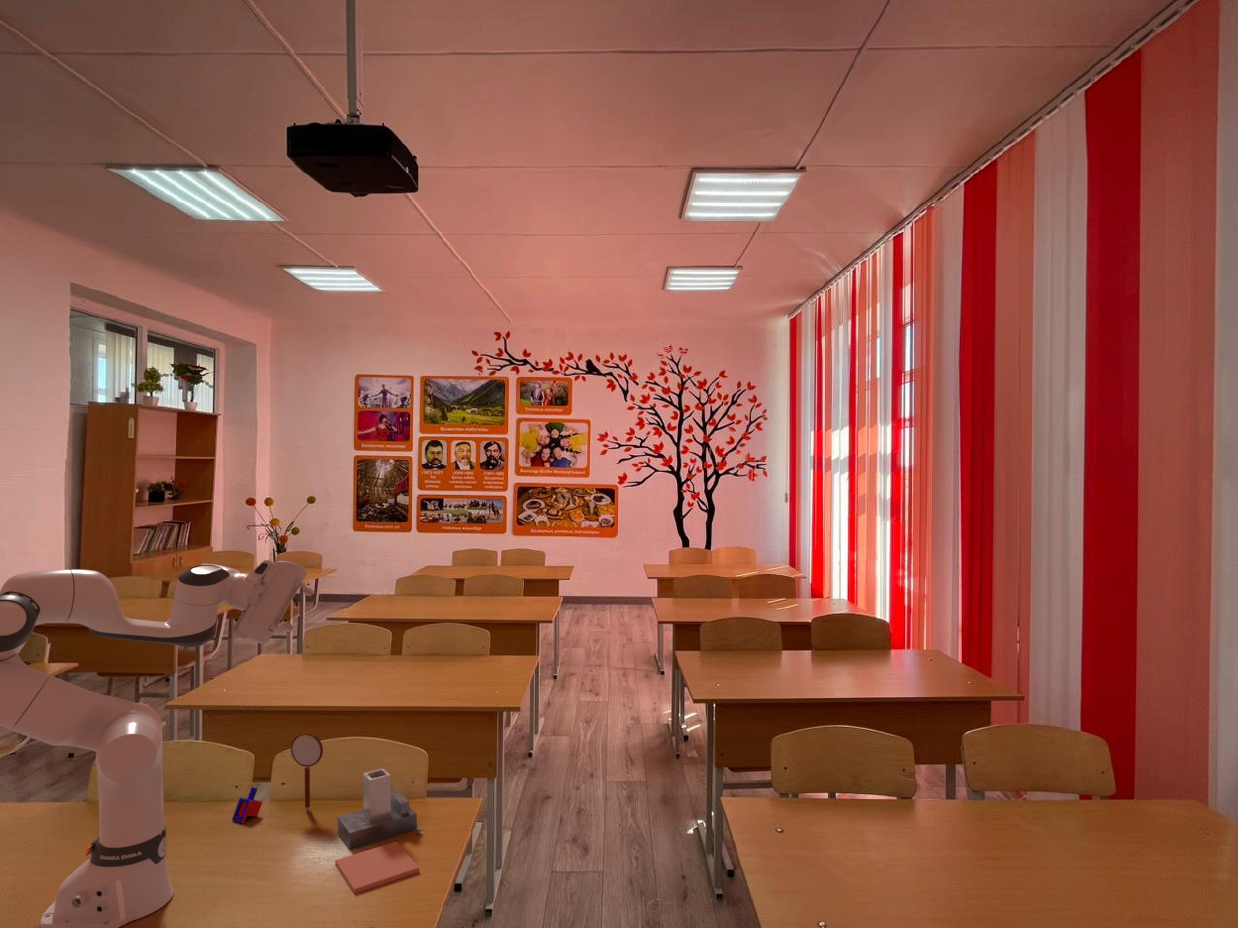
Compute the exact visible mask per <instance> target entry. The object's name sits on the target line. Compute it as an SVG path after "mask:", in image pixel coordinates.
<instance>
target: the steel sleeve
mask: <svg viewBox="0 0 1238 928" xmlns="http://www.w3.org/2000/svg"><path fill="white" fill-rule="evenodd" d="M374 777H376V778H374ZM362 780H363V781H362V783H363V785H362V788H363V793H362V794H363V795H362V796H363V797H362V798H363V810H364V815H365V817H366V818H367V819H368V820H369V821H370V822H372V821H376V820H379V819H383V818H387V817H390V816H391V792H392V791H391V790H392V789H391V788H392V787H391V783H392V782H391V781H392V780H391V774H390V773H389V772H388V771H387V770H386V769H385V768H383V767H382V768H380V769H379V768H378V769H375V770H371V771H368V772H363V773H362Z"/></svg>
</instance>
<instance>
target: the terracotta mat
mask: <svg viewBox="0 0 1238 928" xmlns="http://www.w3.org/2000/svg"><path fill="white" fill-rule="evenodd" d="M334 863H335V866H336V868H337V869H338V871H339V873H340V875H341V876H342V877H343V879H344V880H345V882H346V883H347V885H348V887H349V888H350V890H351V891H352V893H353V895H354V894H358V893H360V892H361V893H362V892H363V891H367V890H370V889H373V888H376V887H378V886H382V885H384V884H388V883H390V882H394V881H396V880H399V879H403V878H405V877H409V876H411V875H415V874H418V873H419V872H420V867H419V866H418V864H417V863H416V862H415V861H414V859H412V857H411V856H410V855H409V854H408V853H407V851H406V850H405V849H404V848H403V847H402V846H401V844H400V843H399V842H398V841H393V842H390V843H388V844H384V845H381V846H377V847H374V848H370V849H368V850H365V851H361V852H358V853H354V854H351V855H348V856H346V857H341V858H338V859H335V860H334Z"/></svg>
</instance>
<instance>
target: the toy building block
mask: <svg viewBox="0 0 1238 928" xmlns="http://www.w3.org/2000/svg"><path fill="white" fill-rule="evenodd" d="M257 791H258V788H257V787H253V786H252V787H251V788H250V790H249V794H248V796H247V798H244V797H239V799H238V802H237V804H236V807H235V810H234V812H233V816H232V819H231V821H234V822H237V823H240V824H245V822H246V819H247V817H255V818H256V817H258V816H259V812H260V810H261V807H262V804H263V801H260V800H257V799H255V797H256V794H257Z"/></svg>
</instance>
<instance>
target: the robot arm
mask: <svg viewBox="0 0 1238 928" xmlns="http://www.w3.org/2000/svg"><path fill="white" fill-rule="evenodd" d="M307 574H308V571H307V569H306V568H305V567H304V566H303V565H301V564H299V563H295V562H293V561H292V562H291V561H286V560H279V561H275V562H274V561H272V559H271V560H270V559H267V558H266V559H264V560H263V561H262V562H260V563H259V565H257V566H256V567H255V569H253V570H252V571H251V572H250V573H243V572H241V571H240V570H238V569H235V568H233V567H229V566H227V565H226V566H225V565H220V564H214V563H202V564H199V565H195V566H192V567H191V568H188V569H187V570H185V571H184V572H182V573H181V574H179V576H178V577H177V581H176V586H175V590H174V595H173V603H172V608H171V614H170V617H169V619H167V620H166V621H158V620H157V621H156V620H146V619H138V618H137V619H136V618H129V617H127V616H125V614H124V613H123V610H122V607H121V603H120V600H119V599H120V598H119V596H118V592H117V590H116V588H115V586H114V584H113V583H112V581H111V580H110V579H109V578H108V577H107V576H106V575H105V574H103V573H101V572H100V571H98V570H93V569H92V570H89V569H79V568H78V569H77V568H76V569H73V568H71V569H67V568H66V569H47V570H38V571H30V572H25V573H19V574H15V575H13V576H11V577H10V578H8V579H7V580H6V581H5V582H4V583H3V585H2V586H1V588H0V727H2V728H4V729H7V730H9V731H11V732H15V733H17V734H20V735H22V736H26V737H29V738H31V739H34V740H37V741H40V742H42V743H45V744H47V745H50V746H54V747H55V746H56V747H59V746H65V747H73V748H74V747H75V748H79V749H84V750H85V749H86V750H90V751H92V752H95V763H96V764H95V765H96V780H97V792H98V793H97V794H98V806H99V807H98V809H99V810H98V811H99V812H98V813H99V814H98V818H99V819H98V820H99V834H98V835H97V838H96V839H94V840H93V842H91V843H90V846H88V848H86V850H85V857H87V856H88V855H90V858H89V859H87V860H86V861H85V862H83V863H82V864H81V865H80V866H78V867H77V869H75V870H74V871H73V872H71V873H70V874H69V875H68V876H67V877H66V878H65V880H63V882H62V883H61V884H60V886H59V887H58V890H57V894H56V896H55V899H54V902H52V904H51V905H50V906H49V907H47V909H46V910H45V911H44V912H43V914H42V916H41V917H40V918H41V919H40V921H39V922H40V923H39V927H40V928H121V927H122V926H124V925H126V924H128V923H130V922H133V921H135V920H138V919H141V918H144V917H146V916H148V915H151V914H153V913H155V912H156V911H158V910H160V909H161V908H163V907H164V906H166V904H167V903H168V902H169V901H170V900H171V899H172V898H173V895H174V888H173V886H172V882H171V880H170V876H169V872H168V867H167V860H166V855H167V847H168V845H167V844H168V843H167V841H168V838H167V828H166V827H167V826H166V825H165V824H164V778H163V777H164V776H163V775H164V773H163V723H162V719H161V716H160V715H159V713H158V712H157V711H156V710H155V709H154V708H152V707H151V706H150V705H148V704H146V703H143V702H135V701H132V700H128V699H123V698H120V697H115V696H111V695H108V694H104V693H98V692H95V691H92V690H89V689H87V688H84V687H81V686H78V685H76V684H73V683H71V682H69V681H66V680H63V679H62V678H58V677H55V676H53V675H51V674H48V673H45V672H43V671H40V670H37V669H34V668H32V667H31V666H29V665H28V664H26V663H25V662H24V661H23V660H22V659H21V657H20V655H19V653H20V652H21V651H22V649H23V648H24V646H25V644H26V643H27V641H28V639H29V638H30V637H31V635H32V634H33V631H34V629H35V627H36V626H39V625H43V624H58V623H59V624H60V623H74V624H79V625H83V626H85V627H87V629H88V631H89V632H90V634H93V635H95V636H97V637H102V638H105V639H106V638H107V639H114V640H115V639H116V640H122V641H124V640H126V641H134V642H135V641H136V642H145V643H146V642H147V643H159V644H167V645H168V644H169V645H174V646H178V647H187V648H199V647H201V646H204V645H206V644H207V643H208V642H210V641H211V640H212V639H213V638H214V637H215V636H216V635H217V622H218V619H217V618H218V614H219V613H218V612H219V608H220V604H221V605H229V607H231V608H232V609H235V610H238V611H242V612H241V614H240V616H239V618H238V620H237V622H236V623H235V624H234V625H233V635H234V636H235V637H237V638H239V639H246V638H248V639H250V640H251V641H253V642H255V643H257V644H260V645H264V644H268V643H269V642H270V641H271V640H270V639H271V638H272V637H273V635H274V633H276V634H278V633H279V634H280V633H282V632H289V633H291V632H292V631H293V629H294V627H295V626H294V625H293V624H290V623H288V622H284V624H283V625H279V624H280V622H281V621H282V618H283V616H284V615H285V613H286V611H287V610H288V608H289V606H290V604H291V603H292V601H293V599H294V598H295V595H296V594H297V592H298V591H299V589H301V590H302V589H303V591H302V593H303V594H304V595H305V596H309V597H312V595H313V593H314V592H315V590H314V589H313V588H311V587H308V585H306V583H305V582H304V580H305V578H306V576H307ZM278 625H279V626H278Z"/></svg>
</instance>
